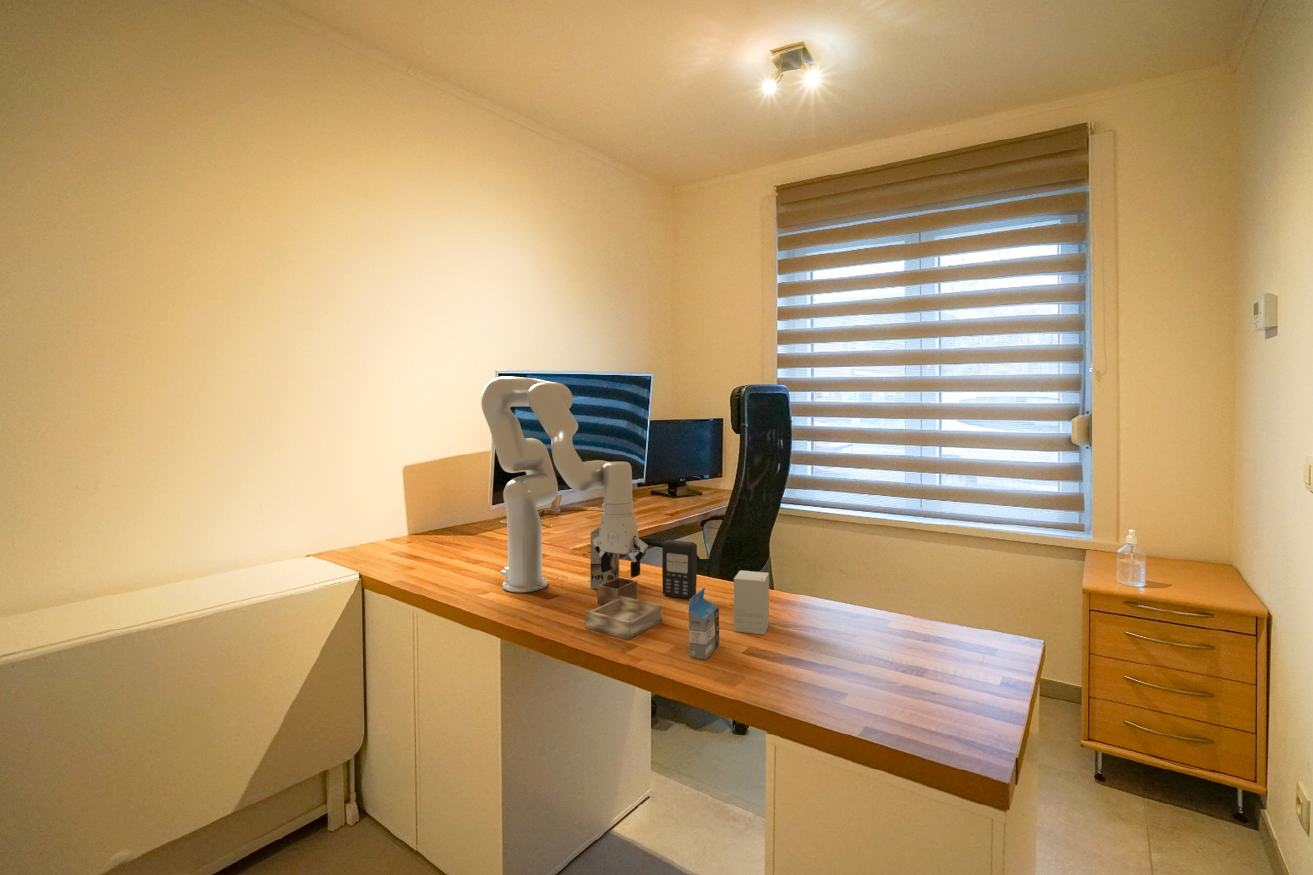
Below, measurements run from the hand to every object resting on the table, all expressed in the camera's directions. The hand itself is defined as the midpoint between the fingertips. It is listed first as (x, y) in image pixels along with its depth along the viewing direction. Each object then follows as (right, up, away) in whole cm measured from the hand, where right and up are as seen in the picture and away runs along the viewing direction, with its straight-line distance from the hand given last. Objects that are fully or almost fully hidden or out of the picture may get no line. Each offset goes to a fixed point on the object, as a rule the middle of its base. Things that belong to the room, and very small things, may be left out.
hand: (620, 573), depth 159 cm
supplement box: (+32, -9, -17) cm, 37 cm away
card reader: (+16, -8, +6) cm, 18 cm away
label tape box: (+20, -10, -30) cm, 37 cm away
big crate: (+2, -9, -15) cm, 18 cm away
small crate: (-1, -8, +1) cm, 8 cm away
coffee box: (-5, -7, +16) cm, 18 cm away
